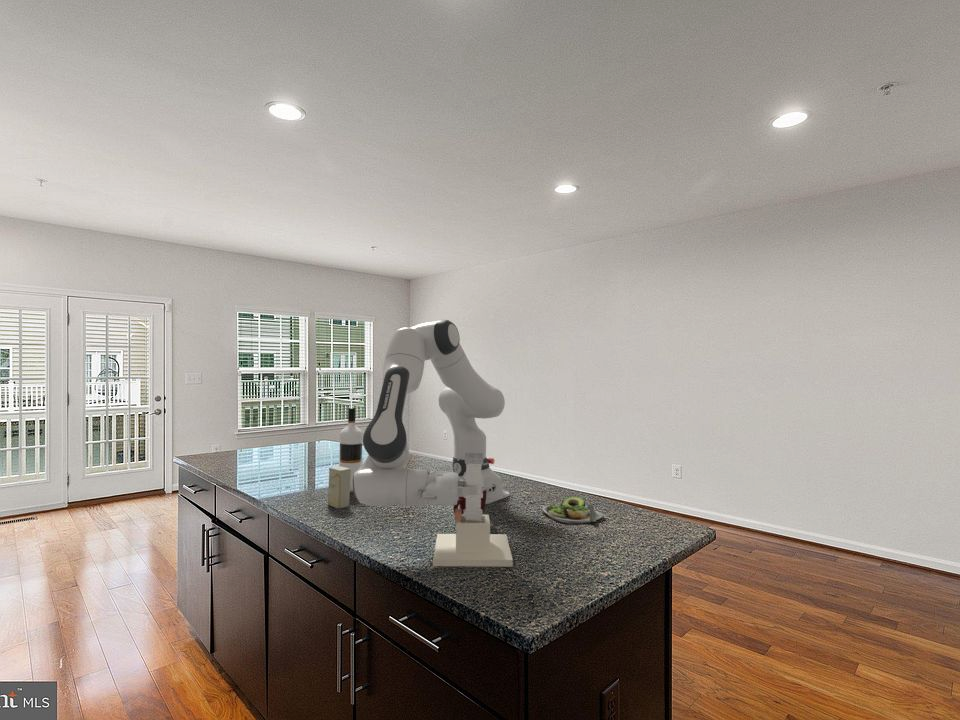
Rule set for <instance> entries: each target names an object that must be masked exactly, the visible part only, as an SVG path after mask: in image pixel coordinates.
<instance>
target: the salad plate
mask: <svg viewBox="0 0 960 720" xmlns="http://www.w3.org/2000/svg"><path fill="white" fill-rule="evenodd" d="M541 511H542V513H543V515H545V516H546V517H548V518H550V519H552V520H555V521H556V522H560V523H562V524H563V523H564V524H569V525H570V524H571V525H574V524H575V525H576V524H577V525H578V524H579V525H580V523H581V524H591V522H592V523H596V522H597V521H599V520H600V519H602V518H603V516H604V515H603V513H602V512H599V511H598V510H595V509H594V506H593V505H592V504H588V503H587V504H586V500H585V498H582V497H580V496H569V497H565V498H564V499H563V500H562V502H561V503H560V504H557V505H556V504H551V505H544V506H543V507H542V509H541Z"/></svg>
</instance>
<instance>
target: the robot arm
mask: <svg viewBox="0 0 960 720" xmlns="http://www.w3.org/2000/svg"><path fill="white" fill-rule="evenodd" d="M460 338H461V337H460V333H459V330H458V328H457V325H456V324H454V322H452V321H451V320H448V319H437V320H435V321H427V322H423V323H420V324H416V325H413V326H410V327H402V328H397V330H395V331H394V332H393V334H392V336H391V338H390V340H389V343H388V346H387V349H386V352H385V356H384V362H383V367H382V387H381V391H380V395H379V399H378V403H377V408H376V411H375V414H374V416H373V418H372V419H371V421H370V422H369V424H368V425H367V426H366V429H364V432H363V440H362V441H363V442H362V446H363V447H364V450H365V451H366V453H367V457H366V458H365V460H363V462H362V466H361V467H360V468H359V469H358V470H357V471H356V472H355V473H354V475H353V490H354V492H353V495H354V496H355V498H356V500H357V501H358V502H359V503H360V504H362V505H367V506H375V507H377V506H378V507H391V506H395V505H398V506H404V507H427V505H432V506H448V507H451V506H452V507H454V505H457V500H459V497H464V496H468V495H477V487H476V486H470V487H466V479H464V472H466V464H465V453H483V464H481V473H483V479H481V486H482V487H485V488H486V503H485V505H488V504H492V503H494V502H497V501H501V500H502V499H505V498H508V497H510V496H511V494H510V492H509V491H508V490H504V482H503V479H502V477H501V476H499V474H497V473H496V472H495V471H494V470H493V469H491V467H490V465H494V464H495V459H494V457H493V458H492V457H488V458H487V435H486V433H485V431H483V430H482V429H480V427H479V425H477V422H476V419H492V418H497V417H499V416H500V415H502V413H503V411H504V409H505V405H506V404H505V403H506V402H505V400H506V399H505V396H504V395H503V392H502V391H501V390H500V389H499V388H497V387H494V386H493V385H491V384H490V383H488V382H487V381H486V380H485V379H484V378H483V377H481V375H480V374H478V372H477V371H476V370H475V369H474V367H473V366H472V364H471V362H470V360H469V358H468V357H467V355H466V353H465V350H464V349H463V347H462V345H461V343H460V341H461V339H460ZM426 361H430V362H431V364H432V365H433V367H434V369H435V371H436V373H437V375H438V376H439V379H440V381H441V382H442V383H443V385H444V386H445V387H444V388H442V390H440V391H441V392H440V393H439V396H438V405H439V408H440V410H441V411H442V412H443V414H444V415H445V416H446V418H447V419H448V421H449V423H450V426H451V429H452V434H453V447H454V449H453V451H454V452H453V457H452V471H449V470H448V471H445V470H431V469H430V468H429V467H424V468H407V467H408V464H409V461H410V455H411V454H410V448H409V444H408V440H407V433H406V429H405V426H404V425H405V424H404V423H403V415H404V409H405V404H406V400H407V396H408V394H412V393H413V392H415V391H416V390H417V389H419V386H420V384H421V381H422V378H423V374H424V368H425V362H426Z"/></svg>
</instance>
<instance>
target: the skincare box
mask: <svg viewBox="0 0 960 720" xmlns="http://www.w3.org/2000/svg"><path fill="white" fill-rule="evenodd" d="M328 471H329V472H328V488H327V489H328V491H327V492H328V493H327V506H329V505H330V507H333V508H336V509H343V508H346V507H349V506H350V494H351V492H350V475H351V469H349V468H346V467H341V466H339V465H337V466H333V467H331V466H330V467H329V469H328Z"/></svg>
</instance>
